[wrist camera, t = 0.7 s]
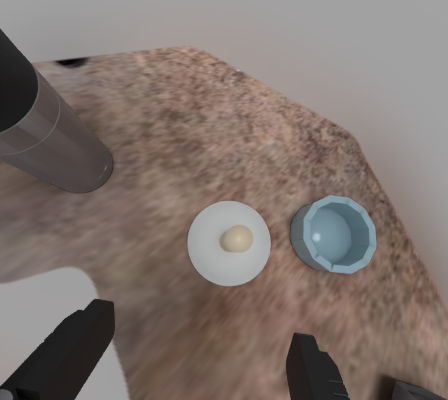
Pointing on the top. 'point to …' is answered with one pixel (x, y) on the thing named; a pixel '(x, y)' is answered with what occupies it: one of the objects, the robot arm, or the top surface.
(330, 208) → the bowl
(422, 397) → the bluetooth speaker
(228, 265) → the lid
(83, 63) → the top surface
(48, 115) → the robot arm
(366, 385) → the top surface
